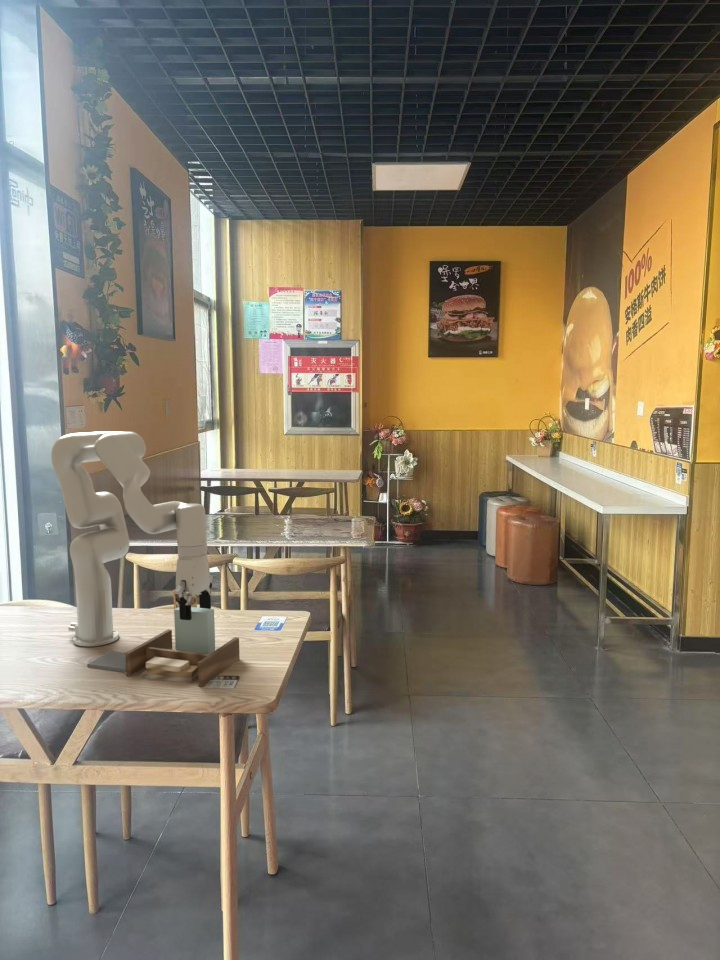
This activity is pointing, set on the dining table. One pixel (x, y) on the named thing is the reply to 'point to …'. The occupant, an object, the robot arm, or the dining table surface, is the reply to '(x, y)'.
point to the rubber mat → (110, 661)
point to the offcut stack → (170, 670)
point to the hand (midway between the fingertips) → (195, 614)
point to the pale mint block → (195, 631)
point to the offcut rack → (183, 656)
